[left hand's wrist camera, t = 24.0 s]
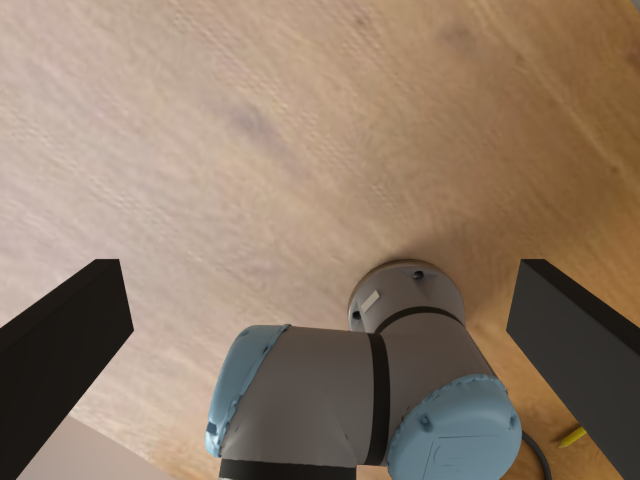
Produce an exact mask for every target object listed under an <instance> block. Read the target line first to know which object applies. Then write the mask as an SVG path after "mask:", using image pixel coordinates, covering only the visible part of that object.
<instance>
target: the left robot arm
mask: <svg viewBox="0 0 640 480" xmlns="http://www.w3.org/2000/svg"><path fill="white" fill-rule="evenodd" d="M348 321H349V327H350V331H344V330H331V329H319V328H306V327H295V326H292V325H291V324H285V325H283V326H280V325H254V326H250V327H248V328H246V329H244V330H243V331H242V332H241V333H240V334H239V335H238V336H237V338H236V339H235V341H234V342H233V344H232V346H231V348H230V350H229V352H228V354H227V356H226V358H225V361H224V363H223V366H222V369H221V371H220V374H219V377H218V380H217V383H216V387H215V390H214V394H213V397H212V401H211V405H210V410H209V415H208V419H209V422H208V426H207V429H206V435H205V446H206V450H207V451H208V453H210V454H212V455H213V456H214V457H215V458H220V457H222V460H221V467H220V473H219V479H218V480H356V467H357V465H373V466H385V467H388V473H389V474H390V477H391V478H392V480H499V479H500V478H501V477H502V476H503V475H504V474H505V473H506V472H507V471H508V469H509V468H510V467H511V465H512V464H513V462H514V460H515V459H516V457H517V454H518V452H519V449H520V445H521V439H523V440H525V441H526V442H527V443H528V444H529V445H530V446H531V447H532V449H533V450H534V451H535V453H536V454H537V456H538V458H539V460H540V462H541V464H542V467H543V470H544V475H545V480H552V478H551V472H550V468H549V465H548V462H547V460H546V458H545V456H544V454H543V453H542V451H541V450H540V448H539V447H538V445H537V444H536V443H535V442H534V441H533V440H532V439H531V438H530V437H529V436H528V435H527V434H526V433H525V432H524V431H522V428H521V423H520V419H519V416H518V414H517V412H516V410H515V409H514V407H513V405H512V403H511V401H510V399H509V397H508V393H507V390H506V388H505V386H504V385H503V384H502V382H501V381H500V380H499V379H498V377H497V375H496V374H495V372H494V371H493V369H492V368H491V366H490V365H489V363H488V362H487V360H486V359H485V357H484V356H483V354H482V353H481V351H480V350H479V348H478V347H477V345H476V344H475V342H474V340H473V339H472V337H471V336H470V334H469V333H468V331H467V330H466V327H465V313H464V303H463V299H462V296H461V294H460V292H459V290H458V288H457V287H456V285H455V284H454V282H453V281H452V280H451V278H450V277H449V276H448V275H447V274H446V273H445V272H443V271H442V270H441V269H439V268H438V267H436V266H434V265H432V264H429V263H427V262H423V261H418V260H398V261H393V262H389V263H386V264H384V265H381V266H379V267H377V268H375V269H374V270H372V271H371V272H369V273H368V274H367V275H366V276H364V277H363V278H362V279H361V280H360V282H359V283H358V284H357V285H356V287H355V289H354V290H353V292H352V294H351V297H350V300H349V304H348ZM133 331H134V328H133V323H132V319H131V314H130V309H129V304H128V300H127V295H126V290H125V285H124V280H123V276H122V271H121V266H120V261H119V259H95V260H94V261H92V262H91V263H90V264H88V265H87V266H85V267H84V268H83V269H81V270H80V271H79V272H77V273H76V274H74V275H73V276H72V277H70V278H69V279H67V280H66V281H65V282H63V283H62V284H61V285H59V286H58V287H56V288H55V289H54V290H52V291H51V292H50V293H48V294H47V295H45V296H44V297H43V298H41V299H40V300H39V301H37V302H36V303H34V304H33V305H32V306H30V307H29V308H28V309H26V310H25V311H23V312H22V313H21V314H19V315H18V316H16V317H15V318H14V319H12V320H11V321H10V322H8V323H7V324H5V325H4V326H3V327H1V328H0V480H16V479H17V477H18V476H19V475H20V474H21V472H22V471H23V470H24V469H25V467H26V466H27V465H28V464H29V462H30V461H31V460H32V459H33V457H34V456H35V455H36V453H37V452H38V451H39V450H40V448H41V447H42V446H43V445H44V443H45V442H46V441H47V440H48V438H49V437H50V436H51V435H52V433H53V432H54V431H55V430H56V428H57V427H58V426H59V425H60V423H61V422H62V421H63V420H64V418H65V417H66V416H67V414H68V413H69V412H70V411H71V409H72V408H73V407H74V406H75V404H76V403H77V402H78V401H79V399H80V398H81V397H82V396H83V394H84V393H85V392H86V391H87V389H88V388H89V387H90V385H91V384H92V383H93V382H94V380H95V379H96V378H97V377H98V375H99V374H100V373H101V372H102V370H103V369H104V368H105V367H106V365H107V364H108V363H109V362H110V360H111V359H112V358H113V357H114V355H115V354H116V353H117V351H118V350H119V349H120V348H121V346H122V345H123V344H124V343H125V341H126V340H127V339H128V338H129V336H130V335H131V334H132V333H133ZM506 331H507V333H508V334H509V335H510V336H511V338H512V339H513V340H514V341H515V343H516V344H517V345H518V346H519V348H520V349H521V350H522V351H523V353H524V354H525V355H526V357H527V358H528V359H529V360H530V362H531V363H532V364H533V365H534V367H535V368H536V369H537V370H538V372H539V373H540V374H541V375H542V377H543V378H544V379H545V380H546V382H547V383H548V384H549V385H550V387H551V388H552V389H553V391H554V392H555V393H556V394H557V396H558V397H559V398H560V399H561V401H562V402H563V403H564V404H565V406H566V407H567V408H568V409H569V411H570V412H571V413H572V414H573V416H574V417H575V418H576V420H577V421H578V422H579V423H580V425H581V426H582V427H583V428H584V430H585V431H586V432H587V433H588V435H589V436H590V437H591V438H592V440H593V441H594V442H595V443H596V445H597V446H598V447H599V448H600V450H601V451H602V452H603V454H604V455H605V456H606V457H607V459H608V460H609V461H610V462H611V464H612V465H613V466H614V467H615V469H616V470H617V471H618V472H619V474H620V475H621V476H622V477H623V479H624V480H640V328H639V327H637V326H636V325H635V324H633V323H632V322H630V321H629V320H628V319H626V318H625V317H624V316H622V315H621V314H619V313H618V312H617V311H615V310H614V309H612V308H611V307H610V306H608V305H607V304H606V303H604V302H603V301H601V300H600V299H599V298H597V297H596V296H595V295H593V294H592V293H590V292H589V291H588V290H586V289H585V288H584V287H582V286H581V285H579V284H578V283H577V282H575V281H574V280H573V279H571V278H570V277H568V276H567V275H566V274H564V273H563V272H561V271H560V270H559V269H557V268H556V267H555V266H553V265H552V264H550V263H549V262H548V261H546V260H545V259H521V261H520V266H519V271H518V276H517V280H516V285H515V290H514V295H513V300H512V304H511V309H510V314H509V319H508V323H507V328H506Z"/></svg>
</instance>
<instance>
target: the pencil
mask: <svg viewBox="0 0 640 480" xmlns="http://www.w3.org/2000/svg"><path fill="white" fill-rule="evenodd" d="M585 433H587V432H586V431H585V430H584V428H583V427H582V426H581V427H580V428H578V429H577V430H576V431H574V432H573V433H571V434H570V435H568V436H567V437H565V438H564V439H563V440H561V441H560V443H559V445H558V446H557V448H562V447H566V446H568V445H569V444H571V443H572V442H574V441H575V440H577V439H578V438H580V437H581V436H583V435H584V434H585ZM557 448H556V449H557Z"/></svg>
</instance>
